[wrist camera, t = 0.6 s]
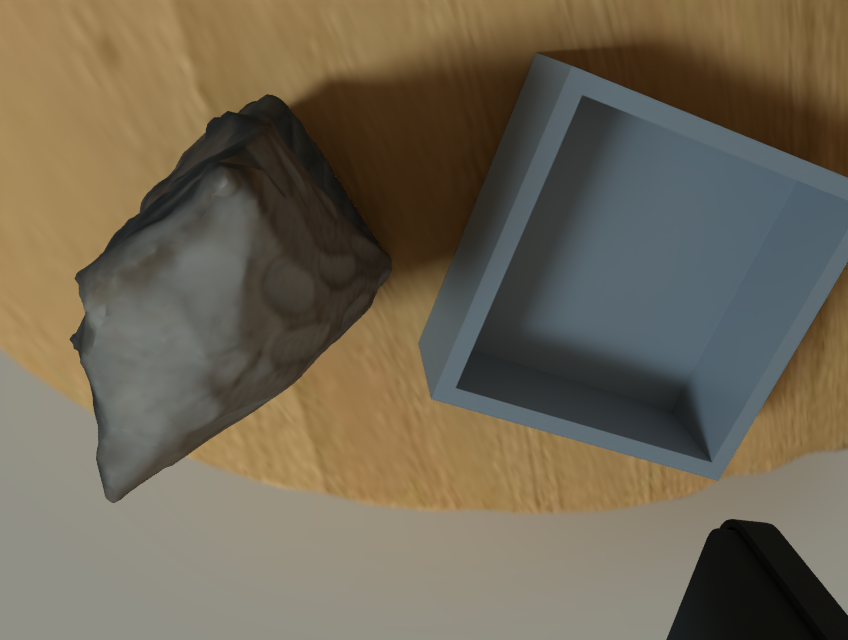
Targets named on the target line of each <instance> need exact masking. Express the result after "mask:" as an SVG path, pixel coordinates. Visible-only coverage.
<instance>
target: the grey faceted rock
mask: <svg viewBox="0 0 848 640" xmlns="http://www.w3.org/2000/svg"><path fill="white" fill-rule="evenodd" d="M391 270H392V267H391V259H390V257H389V256H388V255H387V254H386V253H385V252H384V250H383V249H382V248H381V247H380V245H379V244H378V242H377V240H376V239H375V237H374V236H373V235H372V234H371V232H370V231H369V229H368V227H367V226H366V224H365V222H364V221H363V219H362V217H361V216H360V214H359V213H358V211H357V209H356V208H355V207H354V205H353V204H352V203H351V201H350V199H349V198H348V196H347V194H346V193H345V191H344V189H343V187H342V186H341V184H340V182H339V181H338V179H337V178H336V177H335V175H334V173H333V172H332V170H331V168H330V166H329V164H328V162H327V161H326V159H325V157H324V156H323V154H322V153H321V151H320V150H319V149H318V148H317V146H316V145H315V144H314V142H313V141H312V140H311V138H310V137H309V136H308V134H307V132H306V131H305V129H304V127H303V126H302V124H301V122H300V121H299V120H298V118H297V117H296V116H295V115H294V114H293V113H292V111H291V110H290V109H289V108H288V106H287V105H286V104H285V103H284V102H283V101H282V100H281V99H279V98H278V97H276V96H273V95H268V94H267V95H265V96H264V97H262V98H261V99H259V100H258V101H253V102H251V103H249V104H247V105H246V106H245V107H244V108H242V109H241V110H240V111H239V112H238V113H233V112H229V111H227V112H226V113H224V114H223V115H222V116H221V117H214V118H213V119H212V120H211V121H210V122H209V123H208V124H207V128H206V133H205V134H204V135H203V136H201V137H200V138H199V139H198V140H197V141H196V142H195V143H194V144H193V145H192V146H191V147H190V148H189V149H188V150H186V151H185V152H184V153H183V155H182V156H181V158H180V160H179V162H178V164H177V166H176V168H175V169H174V170H173V172H172V173H171V174H170V175H169V176H168V177H167V178H166V179H164V180H162V181H161V182H159V183H158V184H157V185H156V186H154V187H153V188H152V190H151V191H150V192H148V193H147V194H146V196H145V197H144V199H143V200H142V202H141V207H140V213H139V214H137V215H136V216H135V217H133V218H131V219H129V220H128V221H127V222H126V224H125V225H124V226H123V227H122V228H121V229H120V230H118V231H117V232H116V233H115V234H114V236H113V237H112V238H111V240H110V242H109V244H108V245H107V247H106V249H105V251H104V252H103V253H102V254H101V255H100V256H99V257H98V258H97V259H96V260H95V261H93V262H92V263H91V264H90V265H88V266H87V267H85V268H84V269H82V270H80V271H79V272H78V273H77V274H76V277H75V280H76V281H77V283H78V284H79V296H80V298H81V300H82V303H83V306H84V310H85V311H86V312H85V316H84V318H83V320H82V322H81V324H80V326H79V328H78V330H77V332H76V333H75V334H73V335H72V337H71V338H70V341H71V342H72V343H73V345H74V349H76V350H77V351H78V352H79V356H80V363H81V365H82V366H83V368H84V370H85V372H86V375H87V377H88V380H89V382H90V386H91V391H92V395H93V406H94V412H95V416H96V420H97V424H98V442H99V443H98V448H97V456H96V460H97V465H98V469H99V472H100V477H101V481H102V484H103V488H104V493H105V496H106V498H107V499H108V500H109V501H110V502H112V503H115V502H117V501H119V500H121V499H122V498H123V497H124V496H125V495H126V494H128V493H129V492H130V491H132V490H133V489H135V488H136V487H137V486H139V485H140V484H141V483H143V482H145V481H146V480H148V479H149V478H150V477H152V476H153V475H155V474H157V473H158V472H160V471H161V470H162V469H164V468H166V467H169V466H172V465H174V464H175V463H176V462H178V461H179V460H181V459H182V458H184V457H185V456H187V455H188V454H189V453H191V452H192V451H193V450H195V449H196V448H198V447H199V446H201V445H202V444H203V443H205V442H206V441H208V440H209V439H211V438H212V437H214V436H216V435H217V434H219V433H220V432H222V431H223V430H225V429H226V428H228V427H230V426H231V425H233V424H235V423H236V422H238V421H240V420H241V419H243V418H244V417H246V416H248V415H249V414H251V413H252V412H254V411H255V410H257V409H258V408H260V407H261V406H262V405H264V404H265V403H267V402H268V401H269V400H271V399H272V398H274V397H276V396H277V395H278V394H280V393H281V392H283V391H284V390H286V389H287V388H288V387H290V386H291V385H292V384H293V383H294V382H296V381H297V380H298V379H299V378H300V377H301V376H302V374H303V373H304V372H305V371H306V370H307V369H308V368H309V367H310V366H311V365H312V364H313V363H314V362H315V360H316V359H317V358H318V357H319V356H320V355H321V354H322V353H323V352H324V351H326V350H327V349H328V347H329V346H330V345H331V344H333V343H334V342H336V341H337V340H338V339H339V338H340V337H341V336H342V335H343V334H344V333H345V332H346V331H347V330H348V329H349V328H350V327H351V326H352V325H353V324H354V323H355V322H356V321H357V320H358V319H359V318H361V316H362V315H363V314H364V313H365V312H366V311H367V310H368V309H369V308H370V306H371V305H372V303H373V300H374V297H375V295H376V293H377V291H378V289H379V287H380V286H382V285H383V283H384V282H385V280H386V279H387V278H388V277H389V275H390V273H391Z"/></svg>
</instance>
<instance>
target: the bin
mask: <svg viewBox="0 0 848 640" xmlns="http://www.w3.org/2000/svg"><path fill="white" fill-rule="evenodd" d="M847 262H848V178H847V177H845V176H842V175H840V174H837V173H835V172H832V171H830V170H827V169H825V168H822V167H820V166H817V165H815V164H813V163H810V162H808V161H805V160H803V159H800V158H798V157H795V156H793V155H790V154H788V153H785V152H783V151H781V150H778V149H776V148H773V147H771V146H768V145H766V144H763V143H761V142H758V141H756V140H753V139H751V138H749V137H746V136H744V135H741V134H739V133H736V132H734V131H731V130H729V129H726V128H724V127H721V126H719V125H717V124H714V123H712V122H709V121H707V120H704V119H702V118H699V117H697V116H694V115H692V114H689V113H687V112H684V111H682V110H680V109H677V108H675V107H672V106H670V105H667V104H665V103H662V102H660V101H657V100H655V99H652V98H650V97H648V96H645V95H643V94H640V93H638V92H635V91H633V90H630V89H628V88H625V87H623V86H620V85H618V84H616V83H613V82H611V81H608V80H606V79H603V78H601V77H598V76H596V75H593V74H591V73H588V72H586V71H584V70H581V69H579V68H576V67H574V66H571V65H568V64H566V63H563V62H560V61H558V60H555V59H552V58H550V57H547V56H544V55H541V54H539V53H536V54H535V57H534V59H533V62H532V64H531V67H530V69H529V72H528V74H527V77H526V79H525V82H524V84H523V86H522V89H521V91H520V94H519V96H518V99H517V101H516V104H515V106H514V109H513V111H512V114H511V116H510V119H509V121H508V123H507V126H506V128H505V131H504V133H503V136H502V138H501V141H500V143H499V146H498V148H497V151H496V153H495V156H494V158H493V160H492V163H491V165H490V168H489V170H488V173H487V175H486V178H485V180H484V183H483V185H482V188H481V190H480V193H479V195H478V197H477V200H476V202H475V205H474V207H473V210H472V212H471V215H470V217H469V220H468V222H467V225H466V227H465V230H464V232H463V234H462V237H461V239H460V242H459V244H458V247H457V249H456V252H455V254H454V257H453V259H452V262H451V264H450V267H449V269H448V272H447V274H446V276H445V279H444V281H443V284H442V286H441V289H440V291H439V294H438V296H437V299H436V301H435V304H434V306H433V309H432V311H431V313H430V316H429V318H428V321H427V323H426V326H425V328H424V331H423V333H422V336H421V338H420V341H419V343H418V344H419V349H420V353H421V357H422V362H423V366H424V370H425V375H426V379H427V383H428V388H429V392H430V396H431V399H433V400H436V401H440V402H444V403H447V404H451V405H454V406H458V407H461V408H465V409H468V410H472V411H475V412H479V413H482V414H486V415H489V416H493V417H496V418H500V419H503V420H507V421H510V422H514V423H517V424H521V425H524V426H528V427H531V428H535V429H538V430H542V431H545V432H549V433H552V434H556V435H559V436H563V437H566V438H570V439H573V440H577V441H580V442H584V443H587V444H591V445H594V446H598V447H601V448H605V449H608V450H612V451H615V452H619V453H622V454H626V455H629V456H633V457H636V458H640V459H643V460H647V461H651V462H654V463H658V464H661V465H665V466H668V467H672V468H675V469H679V470H682V471H686V472H689V473H693V474H696V475H700V476H703V477H707V478H710V479H714V480H717V481H719V479H720V477H721V475H722V474H723V472H724V470H725V469H726V467H727V465H728V464H729V462H730V460H731V459H732V457H733V455H734V453H735V452H736V450H737V448H738V447H739V445H740V443H741V442H742V440H743V438H744V437H745V435H746V433H747V431H748V430H749V428H750V426H751V425H752V423H753V421H754V420H755V418H756V416H757V415H758V413H759V411H760V410H761V408H762V406H763V404H764V403H765V401H766V399H767V398H768V396H769V394H770V393H771V391H772V389H773V388H774V386H775V384H776V382H777V381H778V379H779V377H780V376H781V374H782V372H783V371H784V369H785V367H786V366H787V364H788V362H789V360H790V359H791V357H792V355H793V354H794V352H795V350H796V349H797V347H798V345H799V344H800V342H801V340H802V338H803V337H804V335H805V333H806V332H807V330H808V328H809V327H810V325H811V323H812V322H813V320H814V318H815V317H816V315H817V313H818V311H819V310H820V308H821V306H822V305H823V303H824V301H825V300H826V298H827V296H828V295H829V293H830V291H831V289H832V288H833V286H834V284H835V283H836V281H837V279H838V278H839V276H840V274H841V273H842V271H843V269H844V267H845V266H846V264H847Z"/></svg>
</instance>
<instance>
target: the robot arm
mask: <svg viewBox="0 0 848 640" xmlns="http://www.w3.org/2000/svg"><path fill="white" fill-rule="evenodd" d="M667 640H848V615H847V614H846V613H845V612H844V610H843V609H842V608H841V607H840V605H839V604H838V603H837V602H836V600H835V599H834V598H833V597H832V596H831V594H830V593H829V592H828V591H827V590H826V588H825V587H824V586H823V584H822V583H821V582H820V581H819V580H818V578H817V577H816V576H815V575H814V573H813V572H812V571H811V570H810V568H809V567H808V566H807V565H806V563H805V562H804V561H803V560H802V558H801V557H800V556H799V555H798V554H797V552H796V551H795V550H794V549H793V547H792V546H791V545H790V544H789V542H788V541H787V540H786V539H785V537H784V536H783V535H782V534H781V533H780V531H779V530H778V529H777V528H776V527H775V526H774V525H772V524H769V523H763V522H753V521H745V520H736V519H730V520H726V521H725V522H724V523H723V524H722V525H721V527H720V528H717V529H714V530H712V531H711V532H710V534H709V536H708V538H707V540H706V542H705V545H704V547H703V550H702V552H701V555H700V557H699V560H698V562H697V565H696V567H695V570H694V572H693V575H692V577H691V580H690V582H689V585H688V587H687V590H686V592H685V595H684V597H683V600H682V602H681V605H680V607H679V610H678V612H677V615H676V617H675V620H674V622H673V625H672V627H671V630H670V632H669V635H668V637H667Z"/></svg>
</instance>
